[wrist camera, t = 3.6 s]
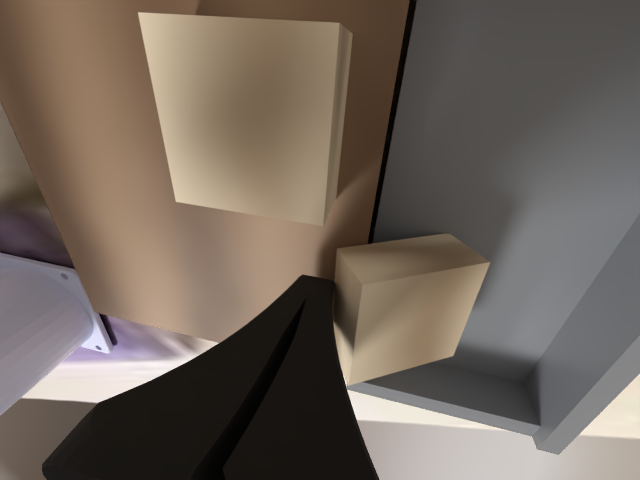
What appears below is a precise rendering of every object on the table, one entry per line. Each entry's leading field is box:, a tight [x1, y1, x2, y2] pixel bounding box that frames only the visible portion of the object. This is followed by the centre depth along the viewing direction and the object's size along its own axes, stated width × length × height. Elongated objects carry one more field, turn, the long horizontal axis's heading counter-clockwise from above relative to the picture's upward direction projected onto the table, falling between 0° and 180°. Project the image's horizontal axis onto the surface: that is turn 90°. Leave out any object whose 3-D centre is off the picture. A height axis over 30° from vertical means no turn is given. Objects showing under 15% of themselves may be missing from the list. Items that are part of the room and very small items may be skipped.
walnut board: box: [0, 0, 410, 373], centre depth 12 cm, size 14×16×3 cm
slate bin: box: [346, 0, 640, 454], centre depth 10 cm, size 9×17×4 cm, turn 176°
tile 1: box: [333, 233, 490, 386], centre depth 11 cm, size 4×4×2 cm
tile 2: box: [138, 12, 353, 226], centre depth 8 cm, size 4×4×2 cm
